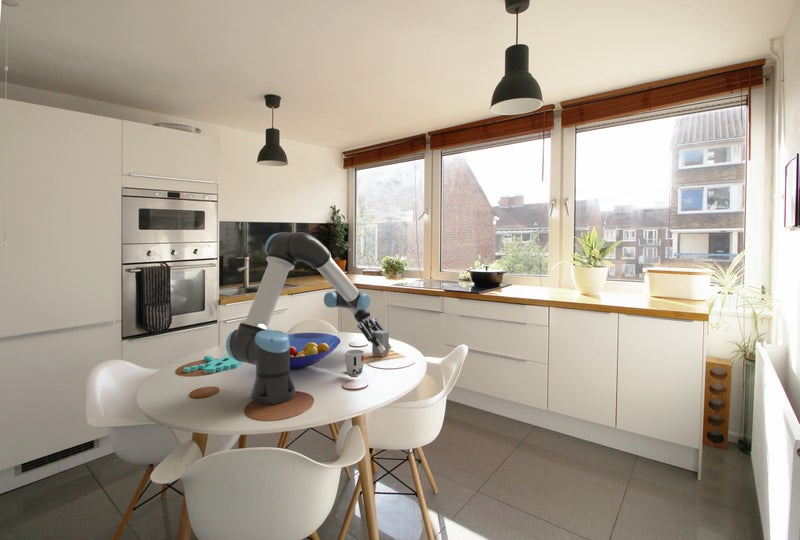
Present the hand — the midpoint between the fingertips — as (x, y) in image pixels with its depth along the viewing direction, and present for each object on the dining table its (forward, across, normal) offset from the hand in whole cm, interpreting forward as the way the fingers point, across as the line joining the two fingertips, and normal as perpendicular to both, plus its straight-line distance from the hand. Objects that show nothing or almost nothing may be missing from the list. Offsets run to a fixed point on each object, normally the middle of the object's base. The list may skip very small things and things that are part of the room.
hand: (386, 349), depth 191 cm
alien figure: (-37, +50, -45) cm, 77 cm away
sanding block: (-1, 0, -5) cm, 5 cm away
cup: (+5, +25, -3) cm, 26 cm away
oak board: (0, +2, -7) cm, 7 cm away
